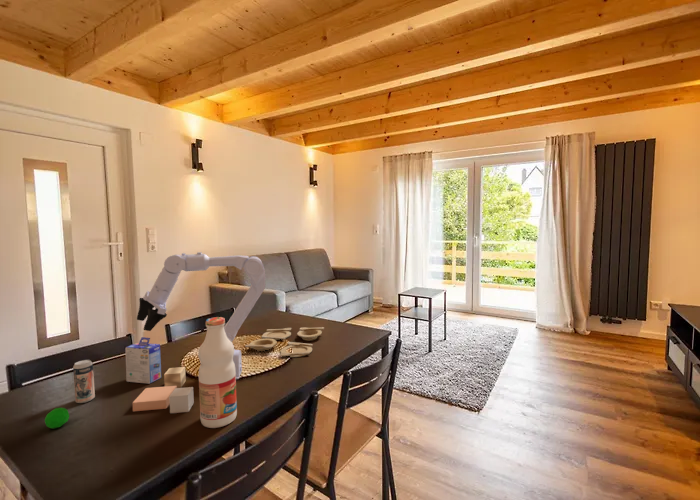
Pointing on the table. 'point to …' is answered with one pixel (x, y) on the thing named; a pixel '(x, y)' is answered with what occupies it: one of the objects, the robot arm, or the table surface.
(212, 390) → the fruit juice
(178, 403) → the grey cube
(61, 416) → the polyhedron
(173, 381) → the maple cube
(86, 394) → the beer can
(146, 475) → the table surface
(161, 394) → the terracotta block
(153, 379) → the ink cartridge box
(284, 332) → the tableware set
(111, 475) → the table surface
